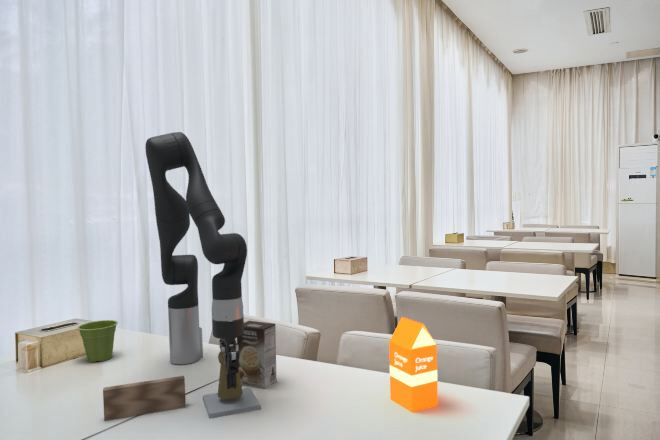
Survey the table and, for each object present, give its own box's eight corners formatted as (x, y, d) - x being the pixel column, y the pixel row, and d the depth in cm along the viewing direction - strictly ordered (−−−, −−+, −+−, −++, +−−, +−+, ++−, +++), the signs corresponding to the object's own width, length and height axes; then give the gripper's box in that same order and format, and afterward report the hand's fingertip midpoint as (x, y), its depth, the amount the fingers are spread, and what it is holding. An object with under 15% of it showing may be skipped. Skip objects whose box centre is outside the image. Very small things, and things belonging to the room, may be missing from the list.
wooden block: (185, 403, 120) (184, 375, 120) (185, 406, 118) (184, 378, 118) (104, 417, 114) (103, 387, 114) (104, 420, 112) (102, 390, 112)
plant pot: (93, 353, 164) (92, 319, 164) (126, 353, 163) (125, 320, 162) (70, 364, 153) (68, 329, 152) (105, 365, 151) (103, 329, 151)
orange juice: (411, 412, 112) (410, 326, 111) (389, 399, 120) (388, 318, 119) (438, 405, 115) (437, 321, 115) (415, 392, 123) (414, 314, 122)
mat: (202, 399, 123) (202, 395, 123) (250, 391, 127) (250, 387, 127) (209, 418, 112) (209, 414, 112) (260, 408, 116) (260, 404, 116)
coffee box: (236, 384, 132) (234, 325, 132) (250, 376, 138) (248, 320, 138) (265, 389, 128) (263, 328, 128) (278, 380, 134) (276, 322, 134)
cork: (246, 390, 122) (245, 346, 122) (237, 399, 116) (235, 354, 116) (223, 388, 123) (222, 345, 123) (213, 398, 117) (211, 353, 117)
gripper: (208, 311, 124) (210, 378, 125) (216, 324, 111) (219, 399, 111) (237, 308, 127) (239, 373, 127) (249, 320, 113) (251, 393, 114)
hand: (230, 385), depth 119 cm, fingers closed on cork, 3 cm apart
